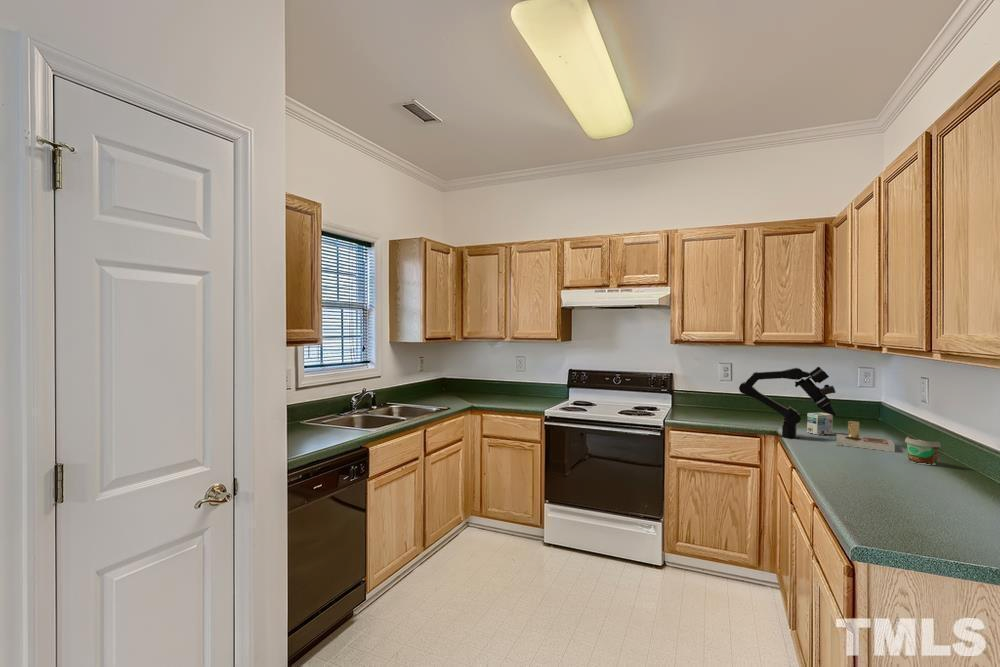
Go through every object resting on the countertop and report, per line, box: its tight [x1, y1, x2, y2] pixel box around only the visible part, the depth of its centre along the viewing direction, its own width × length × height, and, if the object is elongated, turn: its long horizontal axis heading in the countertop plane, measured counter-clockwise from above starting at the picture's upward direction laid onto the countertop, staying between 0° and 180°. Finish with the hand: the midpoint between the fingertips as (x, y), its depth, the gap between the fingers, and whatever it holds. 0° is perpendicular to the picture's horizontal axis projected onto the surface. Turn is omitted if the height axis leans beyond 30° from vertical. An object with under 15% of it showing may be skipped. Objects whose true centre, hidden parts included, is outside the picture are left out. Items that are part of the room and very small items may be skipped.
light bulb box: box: [806, 412, 834, 436], centre depth 266 cm, size 11×7×11 cm, turn 105°
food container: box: [904, 435, 942, 464], centre depth 210 cm, size 12×6×10 cm, turn 21°
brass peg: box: [847, 420, 860, 440], centre depth 242 cm, size 4×4×11 cm
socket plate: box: [835, 433, 896, 453], centre depth 240 cm, size 22×14×3 cm, turn 57°
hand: (834, 414), depth 248 cm, fingers open, 9 cm apart
